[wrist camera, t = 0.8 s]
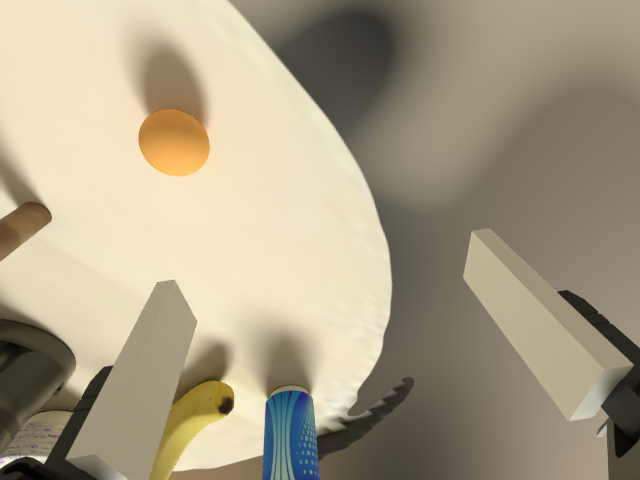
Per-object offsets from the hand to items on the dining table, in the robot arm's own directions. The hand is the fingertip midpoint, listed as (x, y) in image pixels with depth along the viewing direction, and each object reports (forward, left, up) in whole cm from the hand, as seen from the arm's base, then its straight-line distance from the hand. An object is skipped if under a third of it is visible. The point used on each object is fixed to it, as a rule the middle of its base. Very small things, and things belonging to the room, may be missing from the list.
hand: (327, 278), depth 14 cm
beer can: (-7, -45, -20) cm, 50 cm away
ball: (-11, +2, -17) cm, 20 cm away
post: (-28, -4, -20) cm, 35 cm away
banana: (-23, -41, -20) cm, 51 cm away
